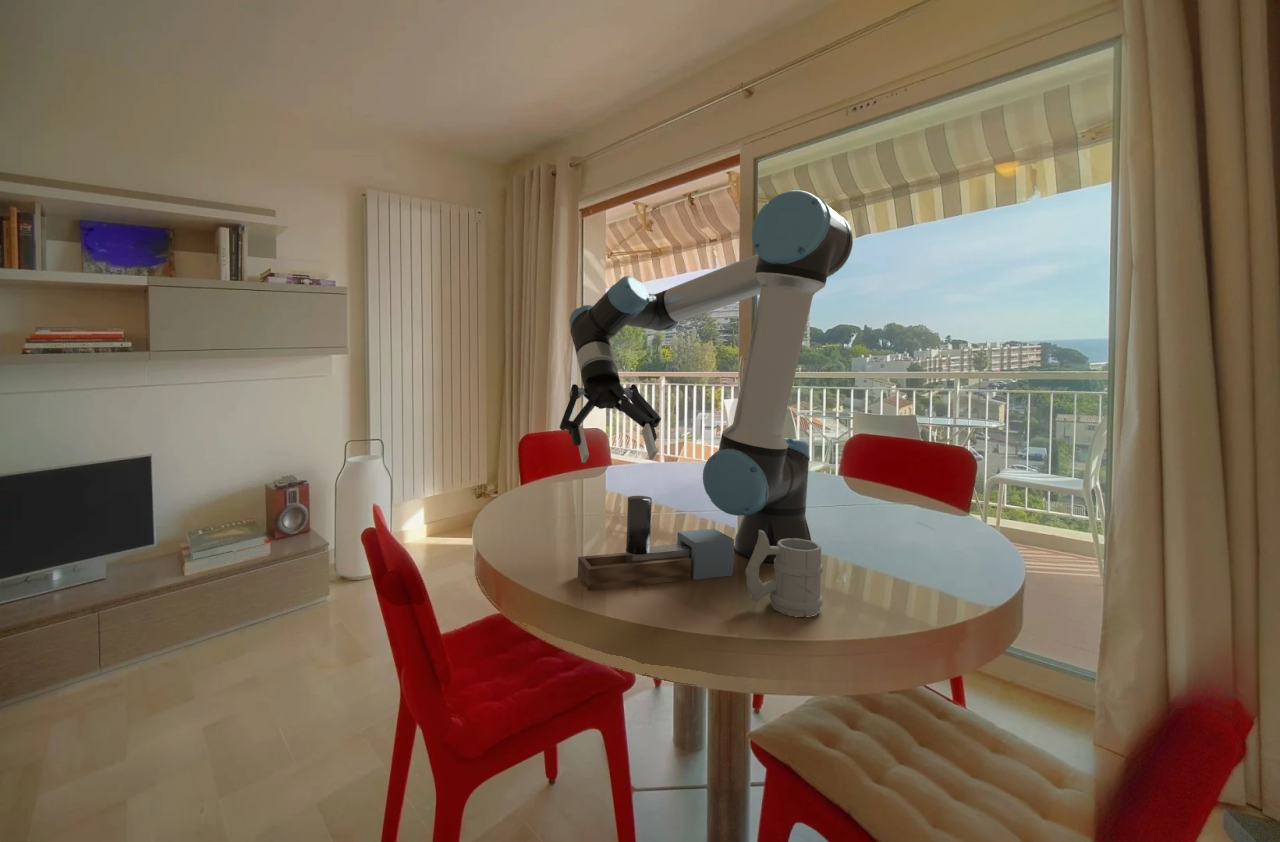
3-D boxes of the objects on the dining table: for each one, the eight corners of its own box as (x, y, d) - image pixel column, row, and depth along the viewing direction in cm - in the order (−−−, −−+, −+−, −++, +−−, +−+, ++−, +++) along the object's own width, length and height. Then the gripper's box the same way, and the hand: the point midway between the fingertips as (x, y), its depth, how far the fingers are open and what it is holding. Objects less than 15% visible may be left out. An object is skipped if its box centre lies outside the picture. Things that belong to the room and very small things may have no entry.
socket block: (712, 562, 104) (714, 528, 103) (732, 575, 97) (734, 539, 97) (676, 566, 101) (677, 531, 101) (693, 579, 95) (695, 542, 94)
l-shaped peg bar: (705, 559, 101) (708, 492, 100) (715, 566, 98) (719, 496, 97) (622, 568, 96) (624, 496, 95) (630, 576, 92) (632, 501, 91)
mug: (831, 618, 81) (836, 537, 80) (753, 620, 79) (757, 538, 78) (808, 597, 89) (812, 523, 88) (736, 599, 87) (740, 523, 86)
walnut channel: (674, 567, 101) (675, 548, 100) (690, 579, 95) (691, 559, 94) (577, 577, 94) (578, 556, 94) (588, 591, 88) (588, 569, 88)
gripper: (647, 381, 123) (673, 463, 112) (535, 380, 114) (551, 471, 103) (659, 358, 118) (687, 443, 107) (541, 356, 108) (559, 449, 97)
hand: (620, 457), depth 105 cm, fingers open, 13 cm apart
